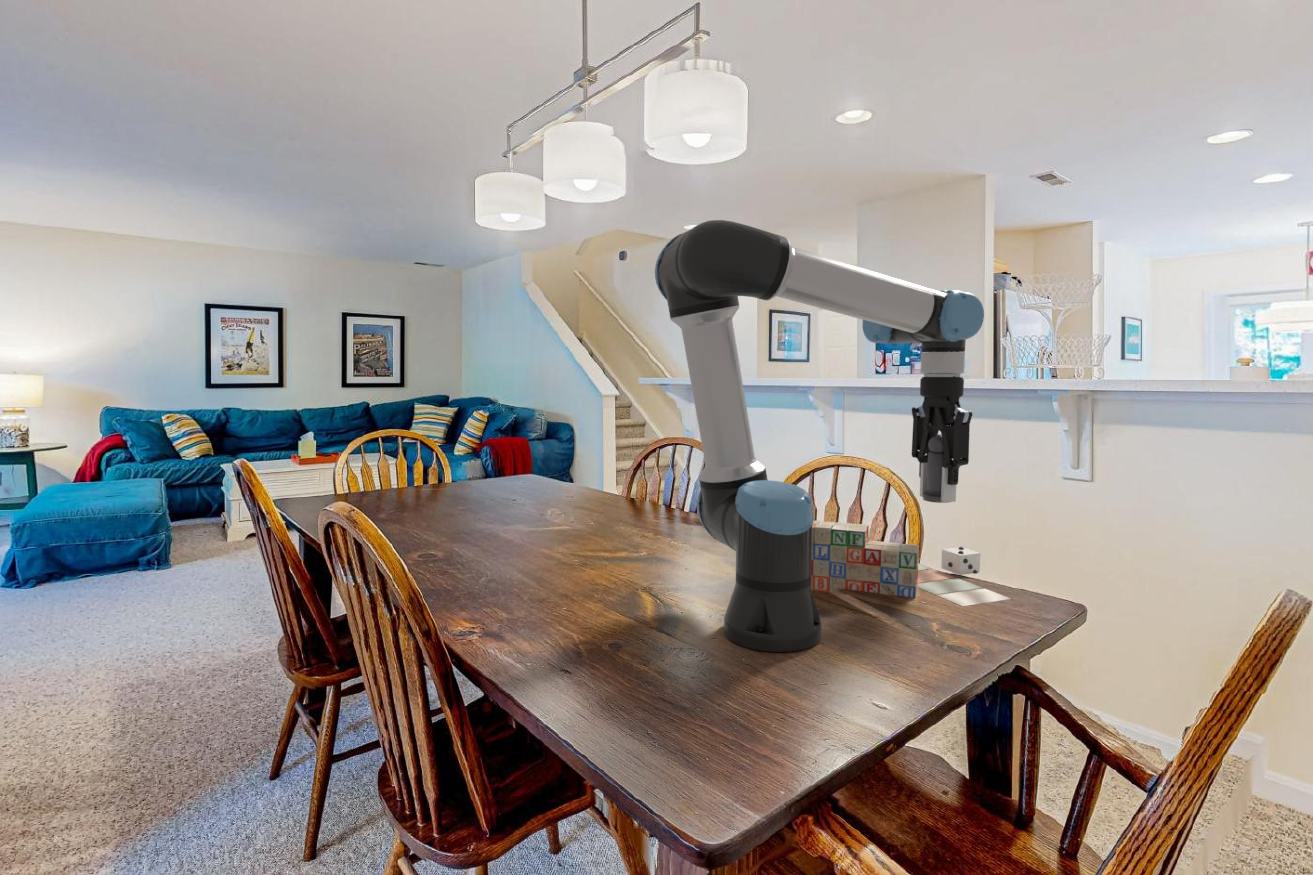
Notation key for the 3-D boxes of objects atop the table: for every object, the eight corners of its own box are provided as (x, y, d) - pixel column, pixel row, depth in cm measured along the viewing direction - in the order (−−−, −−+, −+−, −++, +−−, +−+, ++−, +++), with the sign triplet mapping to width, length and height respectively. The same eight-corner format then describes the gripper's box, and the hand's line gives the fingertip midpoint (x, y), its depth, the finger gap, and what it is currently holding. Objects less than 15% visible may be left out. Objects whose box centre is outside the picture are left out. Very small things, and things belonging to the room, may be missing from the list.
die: (959, 581, 137) (960, 553, 136) (939, 573, 142) (940, 547, 142) (981, 578, 139) (982, 551, 138) (960, 570, 144) (961, 544, 144)
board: (961, 612, 120) (961, 606, 119) (865, 570, 144) (866, 565, 144) (1014, 604, 124) (1014, 598, 124) (913, 564, 148) (913, 560, 148)
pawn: (935, 503, 129) (938, 436, 128) (917, 498, 134) (919, 433, 133) (958, 501, 131) (961, 435, 130) (939, 496, 136) (941, 432, 134)
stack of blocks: (918, 593, 130) (920, 528, 128) (915, 604, 124) (918, 536, 123) (803, 579, 138) (804, 518, 137) (795, 588, 133) (797, 525, 131)
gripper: (996, 376, 123) (989, 506, 125) (925, 374, 140) (921, 489, 142) (961, 376, 120) (955, 509, 123) (894, 375, 137) (890, 491, 140)
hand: (937, 498), depth 132 cm, fingers closed on pawn, 5 cm apart
